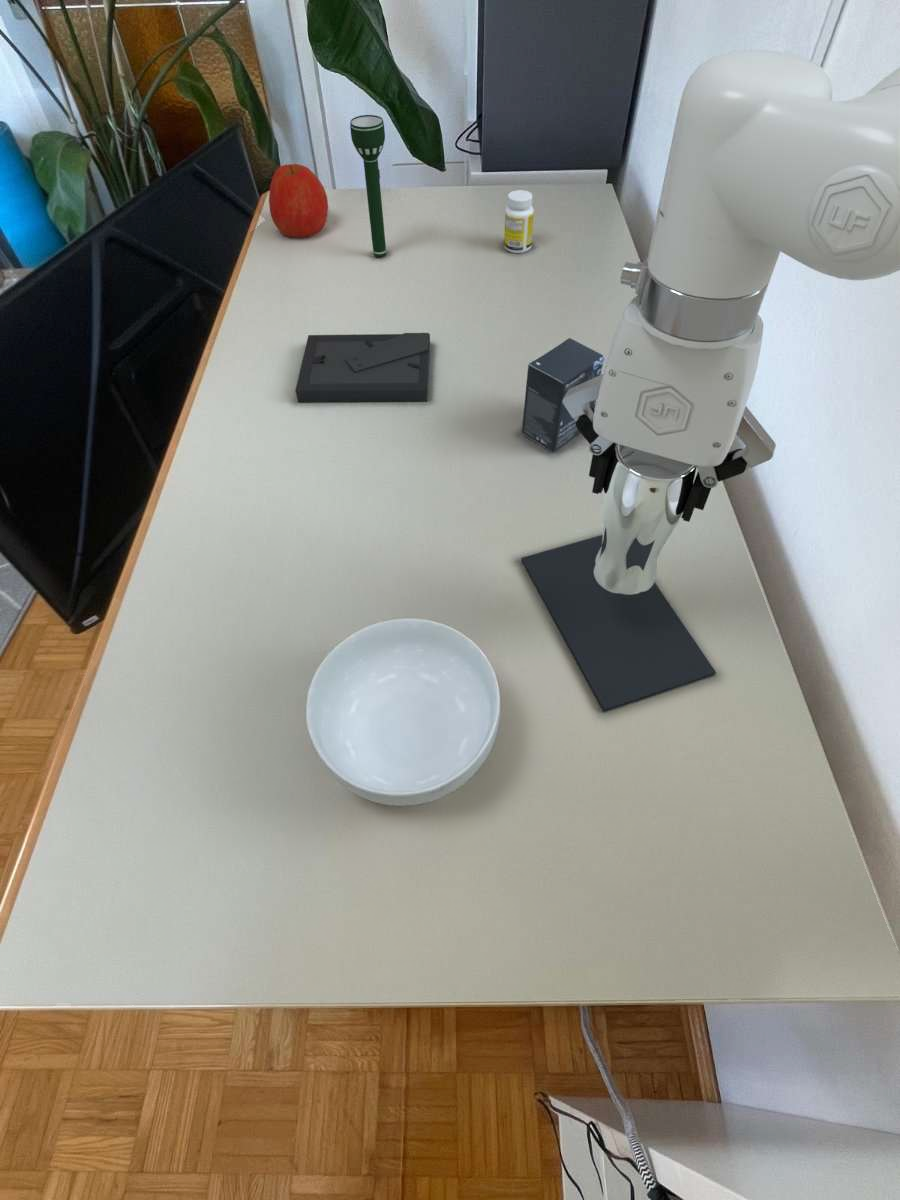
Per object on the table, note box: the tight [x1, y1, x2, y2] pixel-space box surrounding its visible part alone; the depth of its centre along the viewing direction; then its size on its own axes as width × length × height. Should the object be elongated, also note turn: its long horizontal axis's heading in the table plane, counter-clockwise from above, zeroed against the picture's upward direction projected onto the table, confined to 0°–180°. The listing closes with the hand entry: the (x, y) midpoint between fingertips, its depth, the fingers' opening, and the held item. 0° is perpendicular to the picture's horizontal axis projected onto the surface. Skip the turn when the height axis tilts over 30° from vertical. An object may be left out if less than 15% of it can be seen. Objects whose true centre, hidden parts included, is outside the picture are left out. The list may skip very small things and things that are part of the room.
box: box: [521, 337, 605, 454], centre depth 86 cm, size 8×6×11 cm
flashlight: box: [349, 114, 387, 259], centre depth 112 cm, size 5×5×20 cm
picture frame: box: [295, 332, 431, 403], centre depth 98 cm, size 13×2×18 cm
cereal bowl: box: [305, 617, 501, 807], centre depth 62 cm, size 17×17×7 cm
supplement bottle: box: [503, 189, 535, 254], centre depth 117 cm, size 5×5×8 cm
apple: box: [268, 163, 329, 238], centre depth 122 cm, size 10×10×10 cm
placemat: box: [521, 534, 717, 713], centre depth 72 cm, size 20×12×1 cm, turn 19°
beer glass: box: [592, 443, 698, 596], centre depth 61 cm, size 7×7×15 cm
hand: (644, 495), depth 59 cm, fingers closed on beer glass, 7 cm apart
